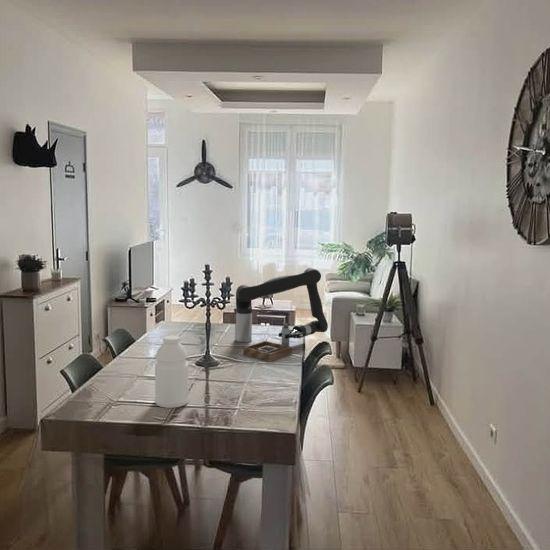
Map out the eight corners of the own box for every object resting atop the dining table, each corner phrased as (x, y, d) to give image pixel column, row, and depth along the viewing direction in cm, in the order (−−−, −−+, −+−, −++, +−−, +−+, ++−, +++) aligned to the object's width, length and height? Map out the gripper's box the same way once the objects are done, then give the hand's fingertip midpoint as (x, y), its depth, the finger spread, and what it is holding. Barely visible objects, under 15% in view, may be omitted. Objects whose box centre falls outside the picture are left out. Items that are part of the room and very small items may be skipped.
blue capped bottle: (279, 348, 310) (280, 324, 308) (284, 346, 313) (285, 323, 311) (286, 349, 307) (286, 325, 305) (290, 348, 311) (291, 324, 308)
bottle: (158, 410, 218) (157, 343, 214) (151, 398, 231) (151, 334, 227) (192, 405, 224) (192, 340, 220) (184, 394, 237) (184, 331, 232)
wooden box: (243, 354, 297) (243, 347, 296) (265, 347, 312) (265, 340, 311) (270, 361, 285) (270, 354, 285) (291, 353, 300) (291, 346, 299)
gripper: (292, 322, 324) (273, 327, 311) (311, 326, 314) (291, 331, 302) (292, 334, 325) (273, 339, 312) (311, 339, 315) (291, 344, 303)
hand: (282, 335), depth 307 cm, fingers closed on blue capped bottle, 4 cm apart
